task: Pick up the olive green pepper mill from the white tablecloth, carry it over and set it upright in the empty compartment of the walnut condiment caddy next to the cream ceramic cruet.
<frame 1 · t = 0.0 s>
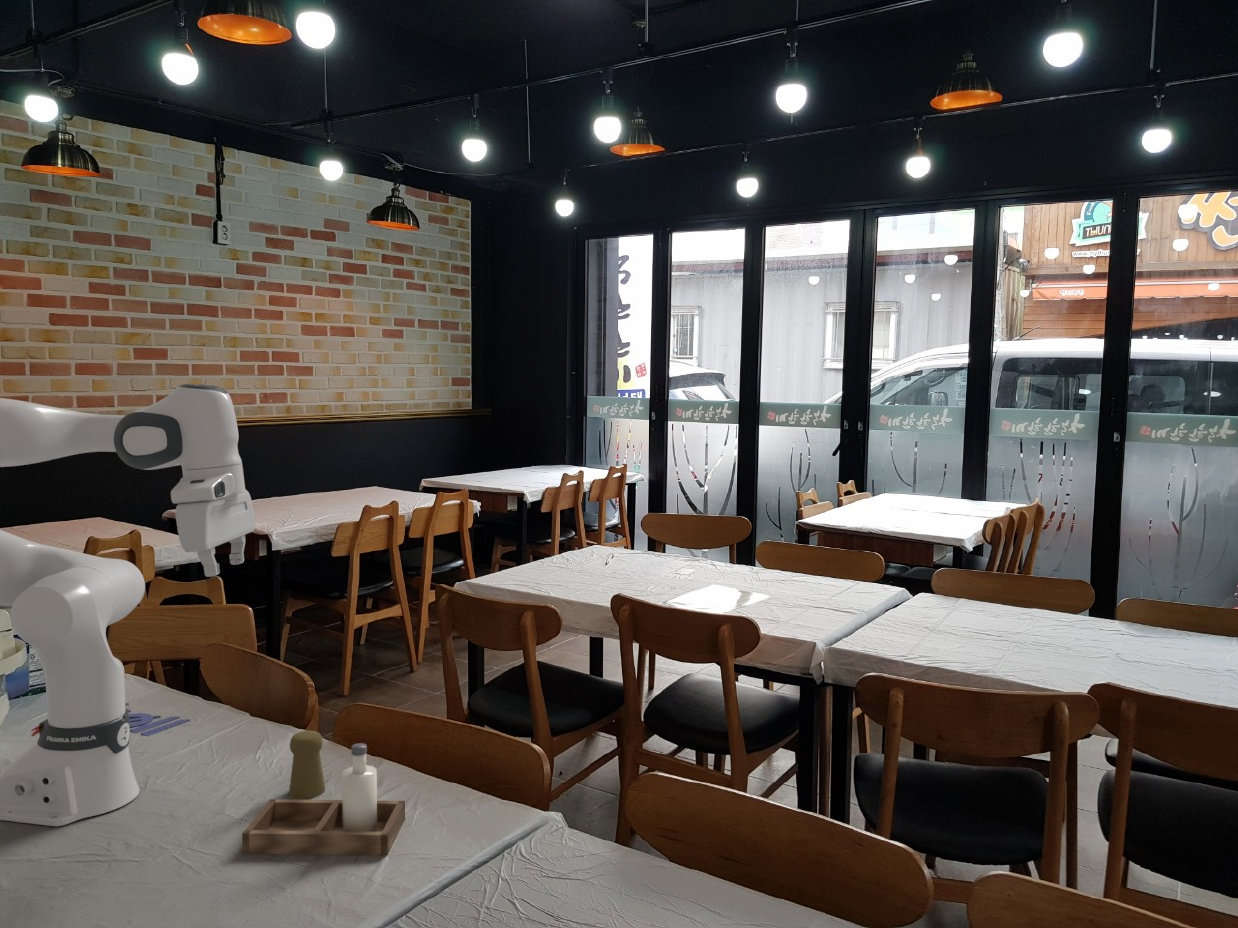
hand: (225, 569, 149), 39 cm above the table, tool pointing down, fingers open, 8 cm apart
olive green pepper mill: (307, 798, 154), on the table
condiment caddy: (327, 841, 139), on the table
cruet bottle: (360, 835, 139), resting on condiment caddy
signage: (122, 718, 190), on the table
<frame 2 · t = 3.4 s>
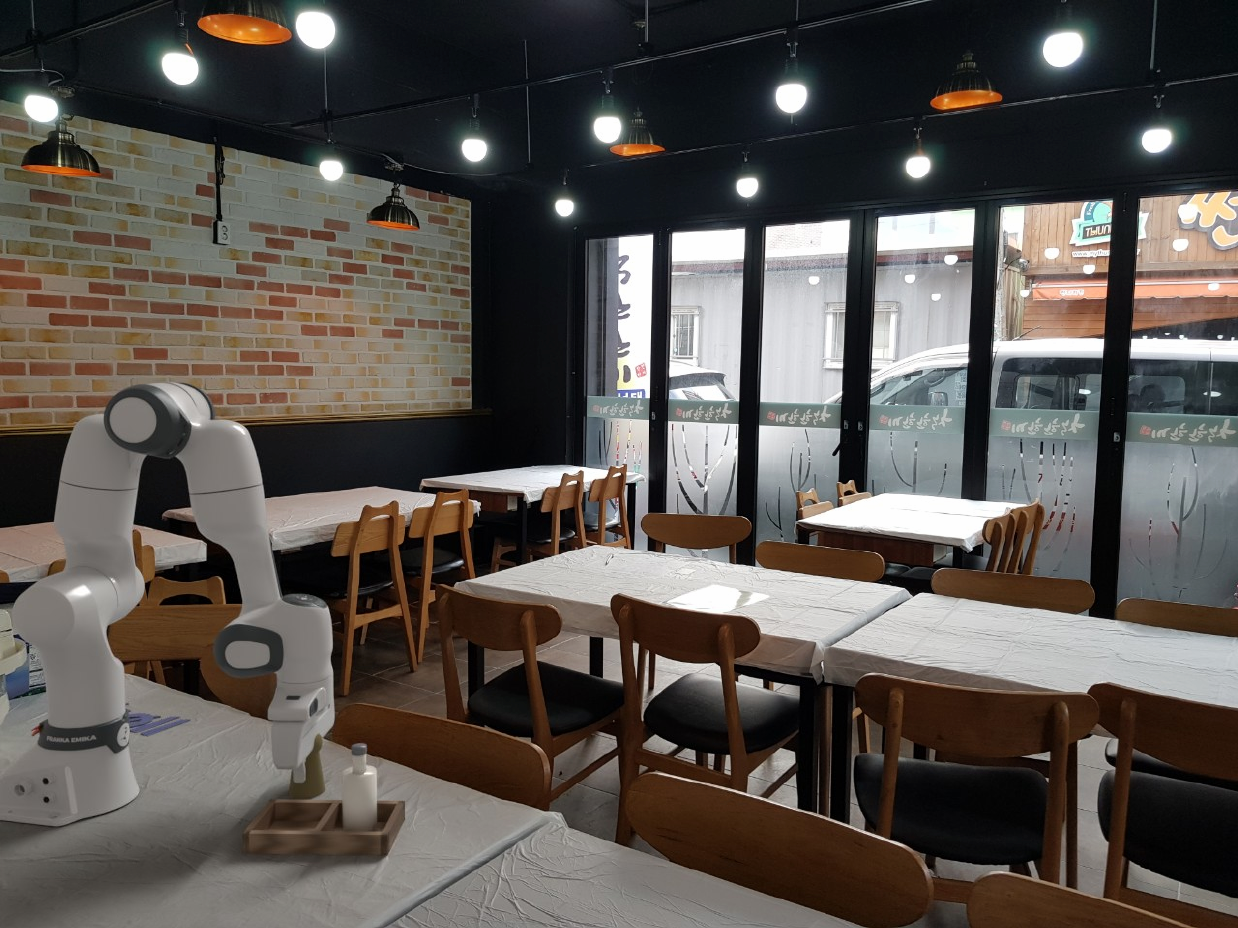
hand: (306, 773, 154), 4 cm above the table, tool pointing down, fingers closed on olive green pepper mill, 5 cm apart
olive green pepper mill: (307, 798, 154), on the table, touching gripper
everything else where it was.
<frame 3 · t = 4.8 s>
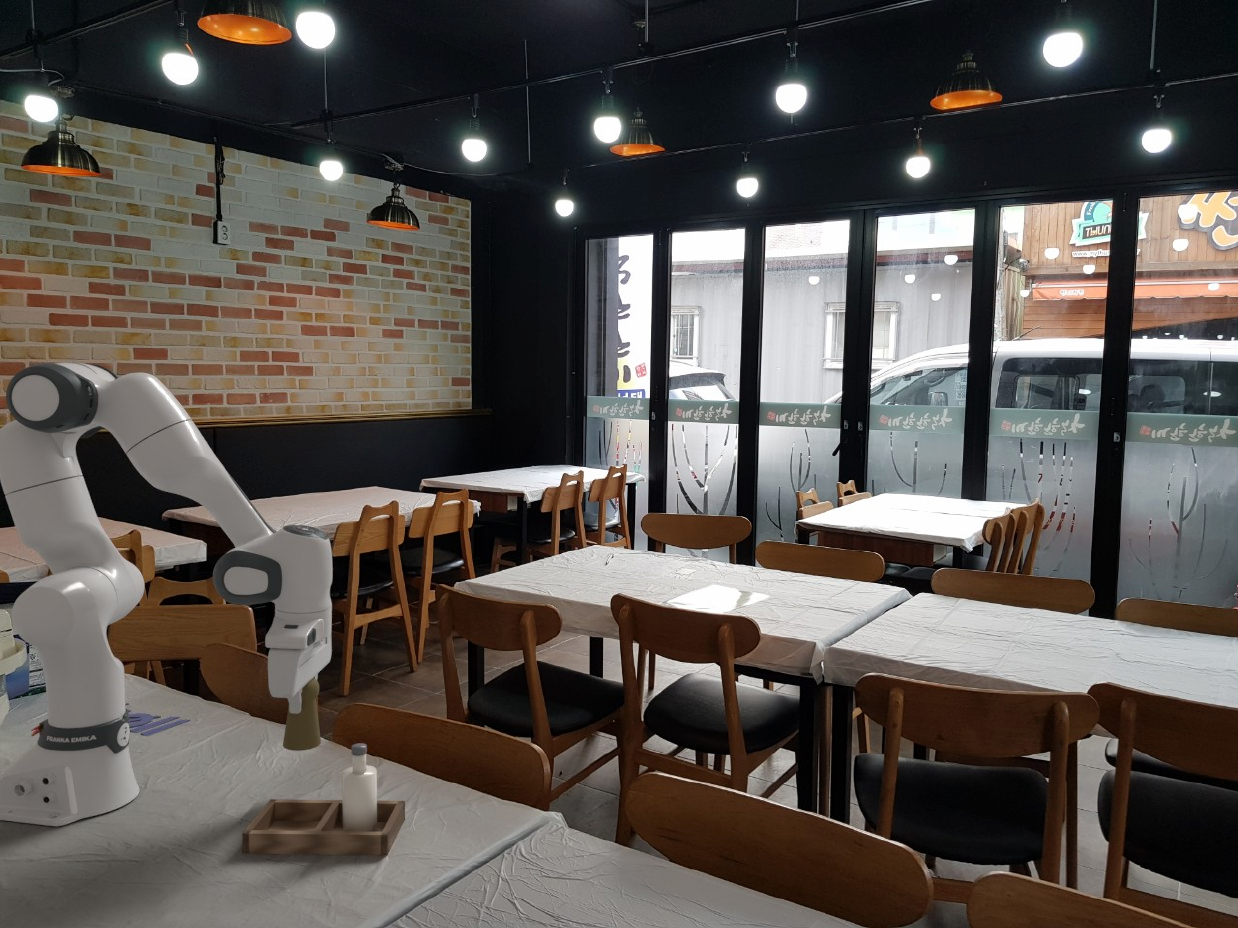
hand: (302, 705, 153), 16 cm above the table, tool pointing down, fingers closed on olive green pepper mill, 4 cm apart
olive green pepper mill: (301, 744, 153), point 9 cm above the table, touching gripper
everything else where it was.
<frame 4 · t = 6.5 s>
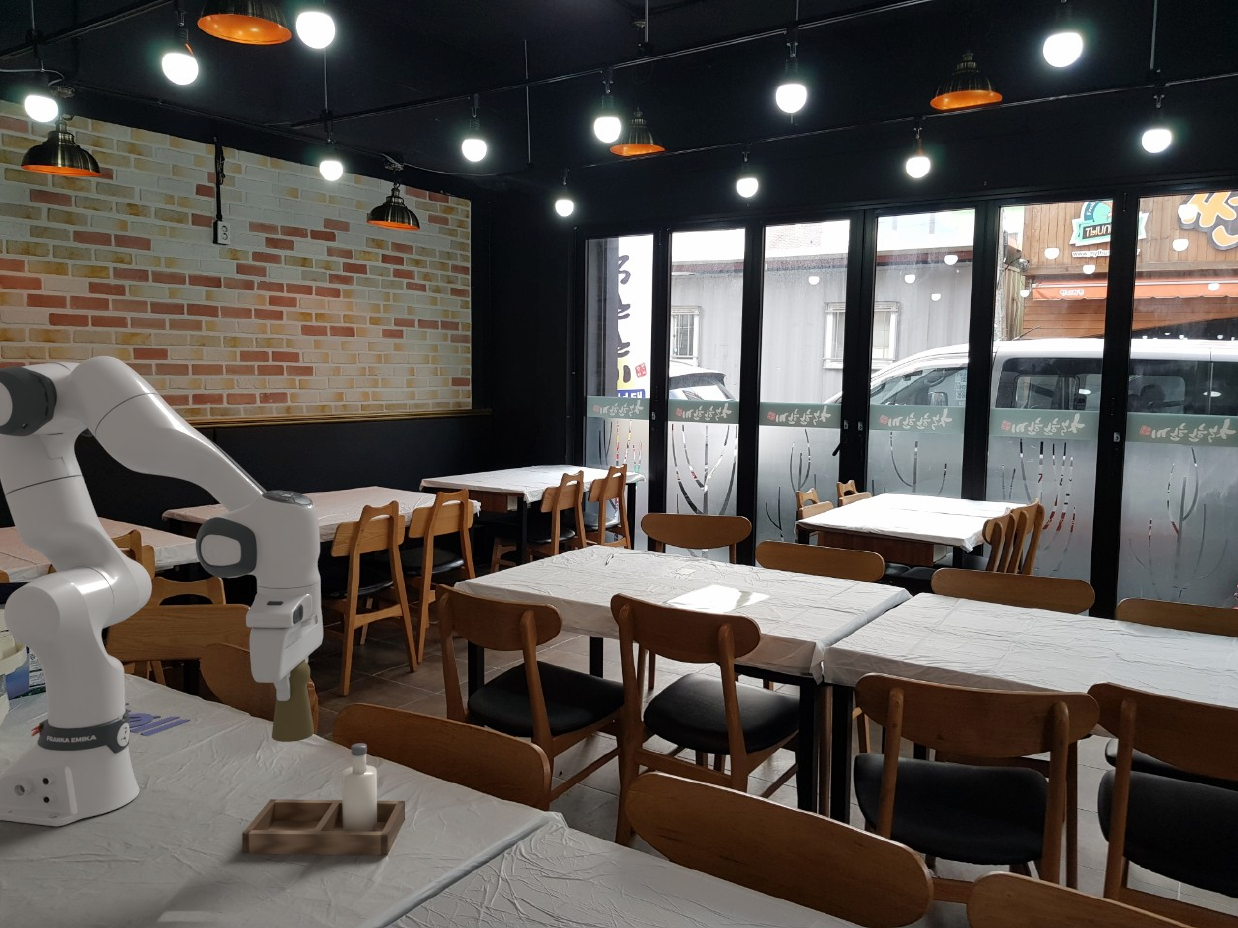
hand: (291, 692, 137), 23 cm above the table, tool pointing down, fingers closed on olive green pepper mill, 4 cm apart
olive green pepper mill: (293, 735, 138), point 16 cm above the table, touching gripper
everything else where it was.
when the fingers open (7 cm above the table, at t = 9.0 s): olive green pepper mill stays where it is, resting on condiment caddy.
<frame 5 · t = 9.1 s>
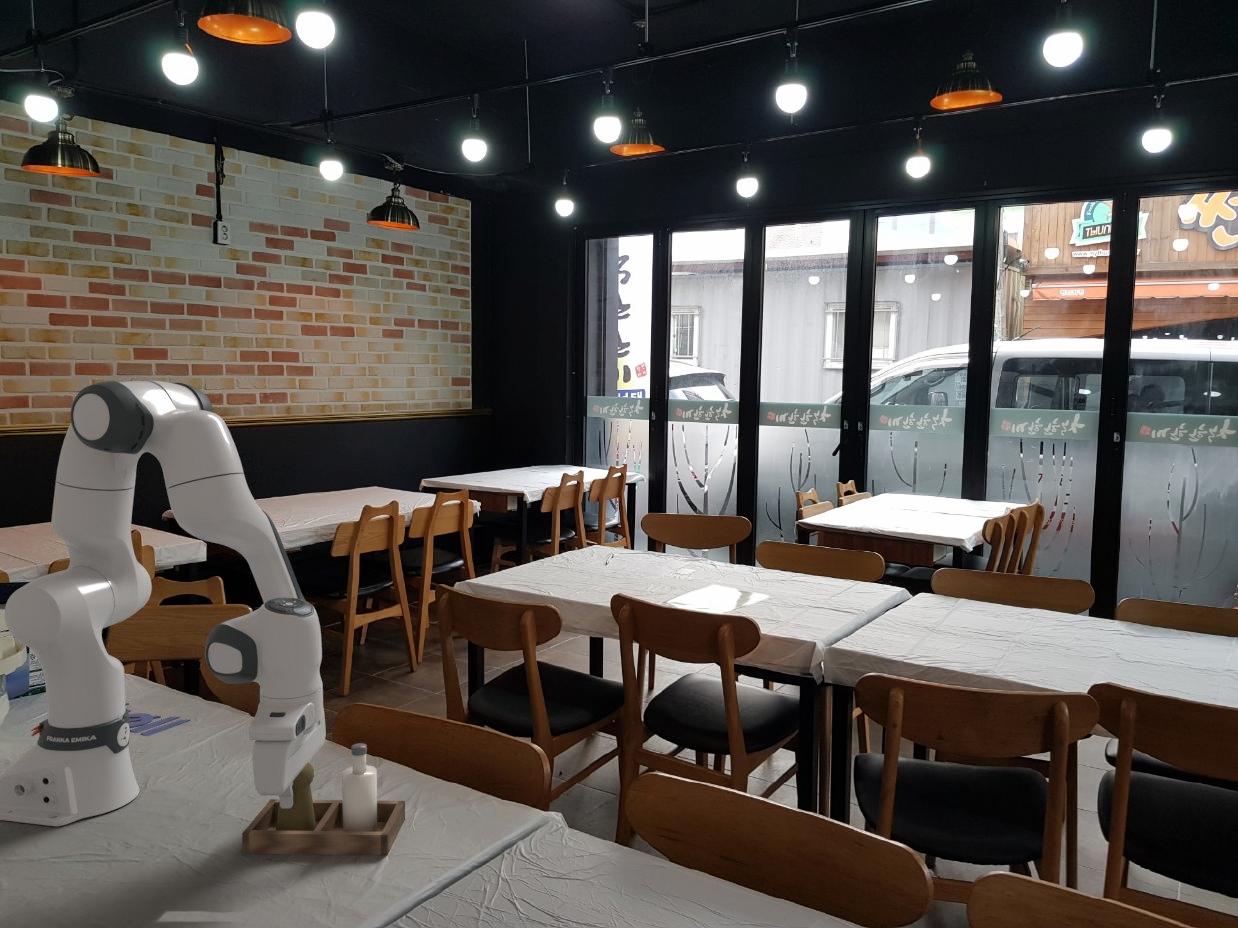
hand: (294, 797, 138), 7 cm above the table, tool pointing down, fingers open, 4 cm apart
olive green pepper mill: (295, 835, 139), point 1 cm above the table, touching condiment caddy, gripper
everything else where it was.
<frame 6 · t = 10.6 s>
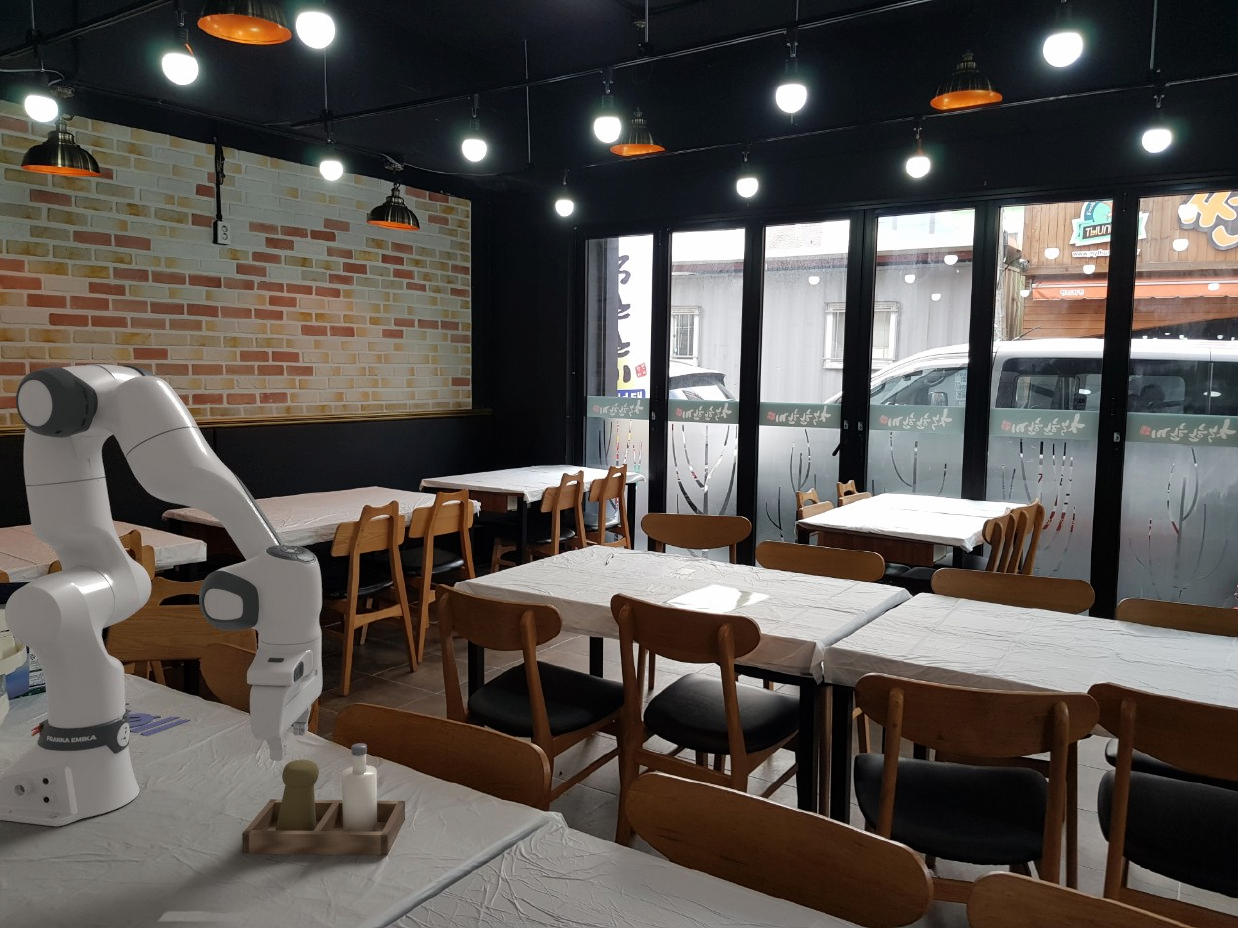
hand: (289, 745, 138), 15 cm above the table, tool pointing down, fingers open, 8 cm apart
olive green pepper mill: (295, 835, 139), point 1 cm above the table, touching condiment caddy
everything else where it was.
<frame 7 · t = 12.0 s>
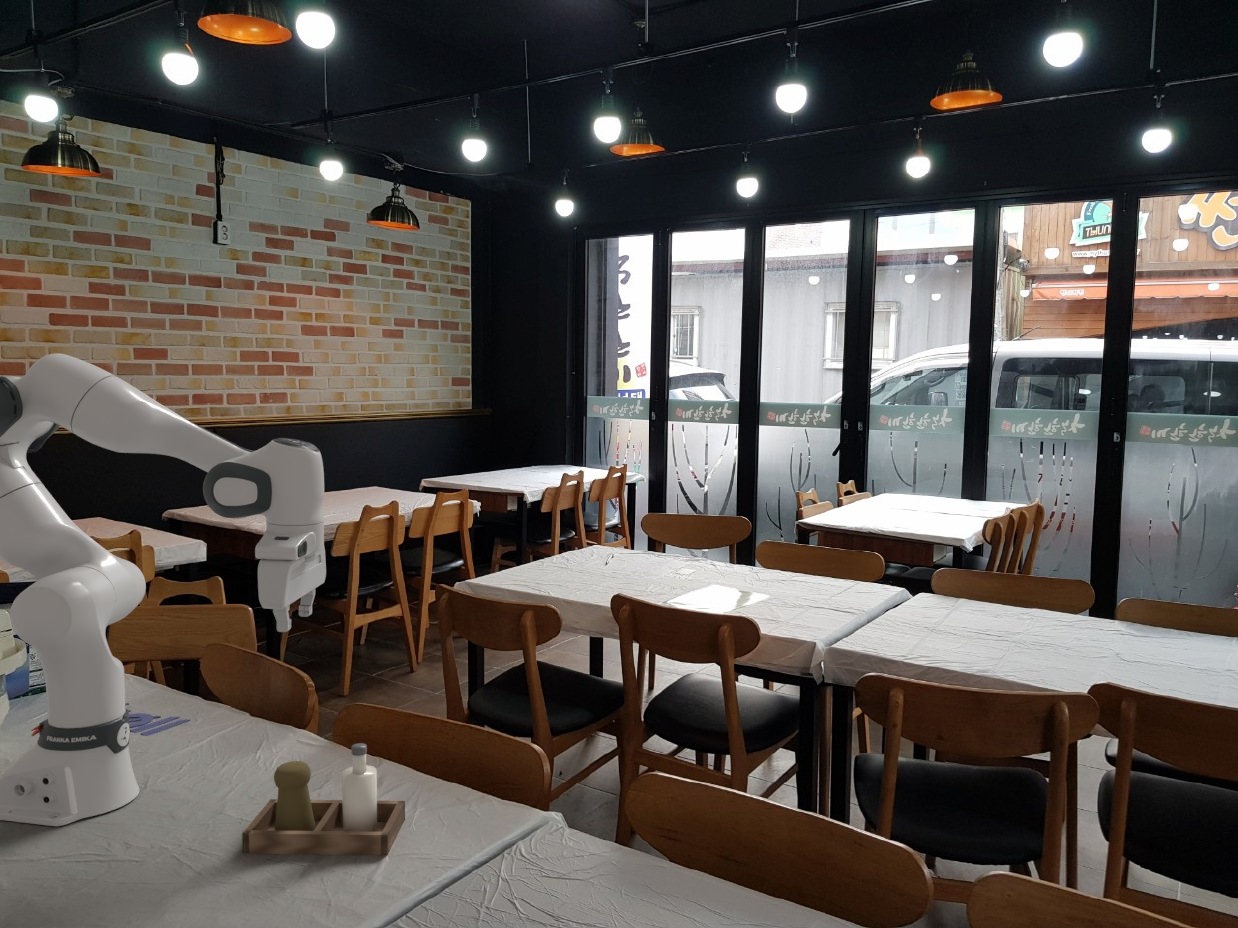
hand: (295, 623, 150), 30 cm above the table, tool pointing down, fingers open, 8 cm apart
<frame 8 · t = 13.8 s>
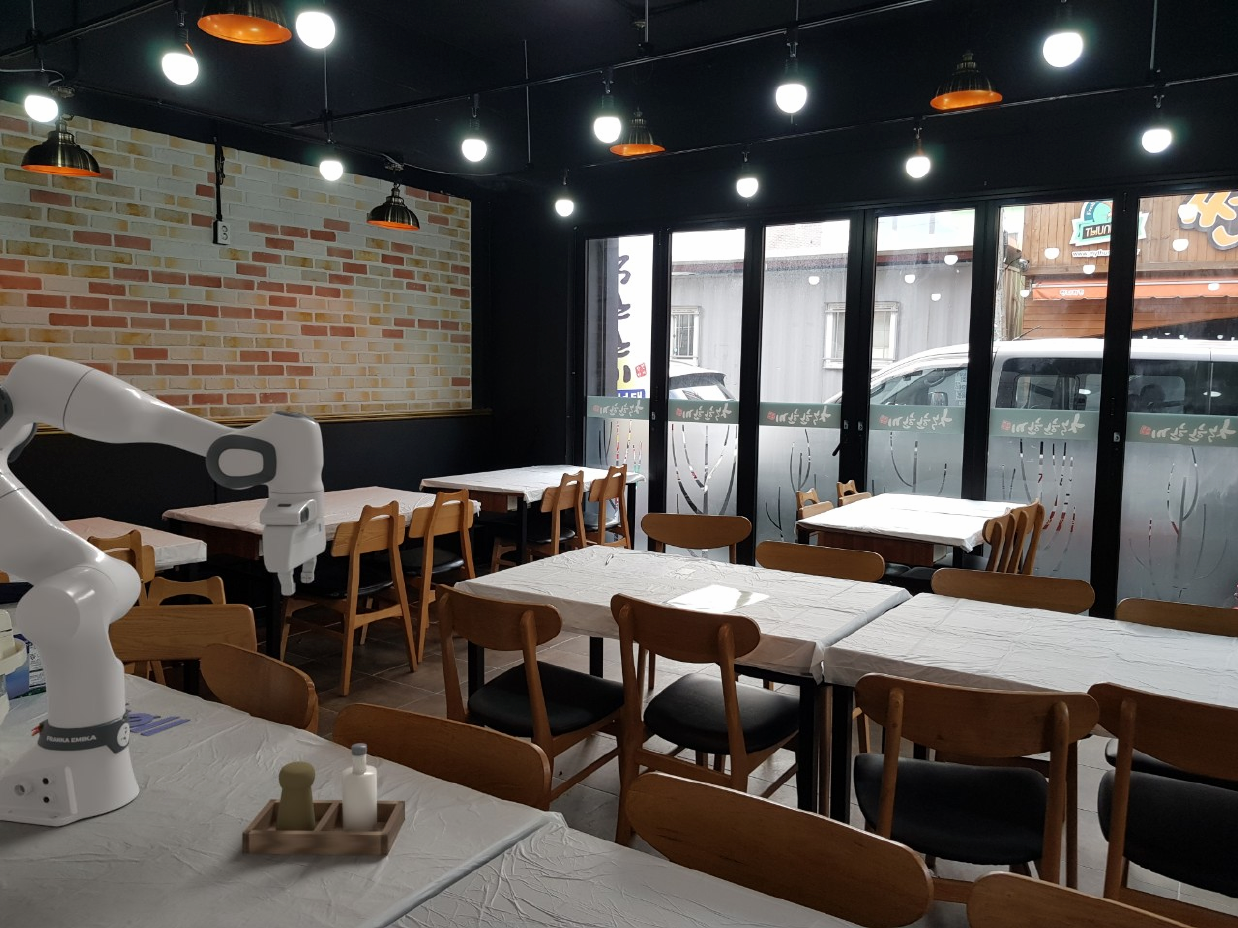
hand: (298, 588, 157), 34 cm above the table, tool pointing down, fingers open, 8 cm apart
nothing on the table moved.
at the end: olive green pepper mill 0.4 cm from the target spot on the condiment caddy, point 0.9 cm above the condiment caddy's base; olive green pepper mill tilted 3°; the gripper is holding nothing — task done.
